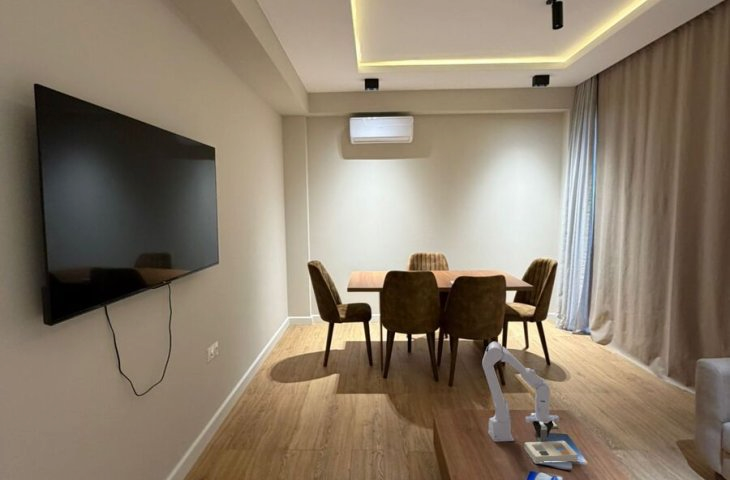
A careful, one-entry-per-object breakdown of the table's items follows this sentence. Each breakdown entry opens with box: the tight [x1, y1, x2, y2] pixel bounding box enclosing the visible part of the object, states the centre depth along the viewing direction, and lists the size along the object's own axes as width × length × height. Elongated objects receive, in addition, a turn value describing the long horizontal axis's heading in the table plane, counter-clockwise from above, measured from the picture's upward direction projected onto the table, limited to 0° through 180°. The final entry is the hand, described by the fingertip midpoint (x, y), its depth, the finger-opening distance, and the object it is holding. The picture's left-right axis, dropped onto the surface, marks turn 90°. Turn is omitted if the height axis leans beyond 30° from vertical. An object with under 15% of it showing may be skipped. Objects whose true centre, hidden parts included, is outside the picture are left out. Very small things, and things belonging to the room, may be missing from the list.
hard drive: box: [530, 412, 559, 429], centre depth 189 cm, size 2×8×12 cm
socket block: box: [524, 440, 579, 464], centre depth 162 cm, size 18×10×3 cm, turn 92°
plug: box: [536, 424, 548, 442], centre depth 171 cm, size 3×3×8 cm
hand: (542, 436), depth 171 cm, fingers closed on plug, 3 cm apart
